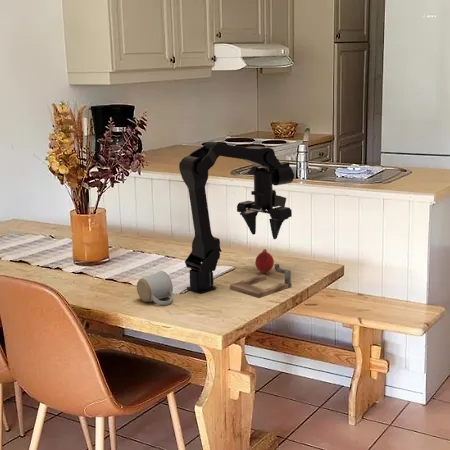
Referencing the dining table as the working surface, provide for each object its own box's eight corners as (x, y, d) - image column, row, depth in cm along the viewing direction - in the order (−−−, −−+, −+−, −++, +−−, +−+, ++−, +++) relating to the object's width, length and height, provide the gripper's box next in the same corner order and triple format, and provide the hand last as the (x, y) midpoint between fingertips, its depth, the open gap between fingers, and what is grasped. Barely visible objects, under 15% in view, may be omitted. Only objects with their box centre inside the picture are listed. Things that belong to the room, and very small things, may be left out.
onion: (272, 276, 220) (272, 252, 218) (254, 276, 221) (253, 251, 219) (274, 271, 225) (274, 247, 224) (257, 270, 227) (256, 246, 225)
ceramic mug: (135, 299, 202) (134, 274, 200) (158, 293, 207) (157, 268, 205) (156, 309, 194) (155, 282, 192) (180, 302, 199) (179, 276, 197)
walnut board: (259, 297, 201) (259, 277, 199) (229, 288, 209) (229, 269, 208) (292, 286, 210) (292, 267, 208) (262, 278, 218) (262, 259, 217)
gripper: (303, 187, 216) (303, 236, 219) (259, 180, 229) (260, 227, 233) (278, 192, 208) (279, 243, 212) (235, 185, 222) (236, 233, 225)
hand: (264, 236), depth 221 cm, fingers open, 9 cm apart
